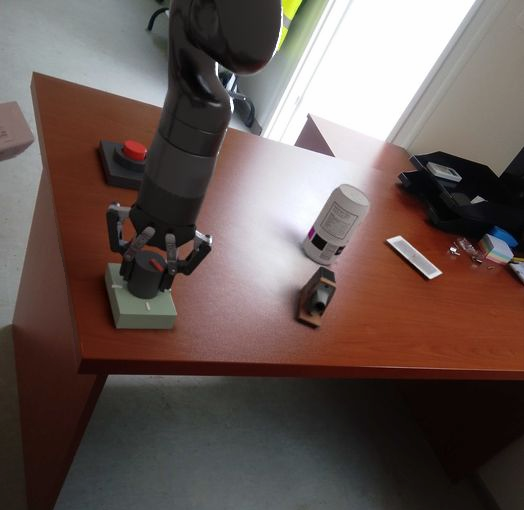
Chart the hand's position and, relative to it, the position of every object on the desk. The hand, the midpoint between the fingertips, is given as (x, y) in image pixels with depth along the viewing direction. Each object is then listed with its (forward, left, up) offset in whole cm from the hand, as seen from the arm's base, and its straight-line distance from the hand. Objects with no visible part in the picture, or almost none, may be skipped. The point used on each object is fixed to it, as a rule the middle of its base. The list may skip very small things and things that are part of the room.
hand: (144, 282), depth 64 cm
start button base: (-23, +28, -4) cm, 36 cm away
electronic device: (+21, +23, -4) cm, 32 cm away
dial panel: (0, 0, -4) cm, 4 cm away
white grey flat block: (+36, +68, -4) cm, 77 cm away
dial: (0, 0, -1) cm, 1 cm away
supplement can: (+16, +43, -4) cm, 46 cm away
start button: (-23, +28, -1) cm, 36 cm away
